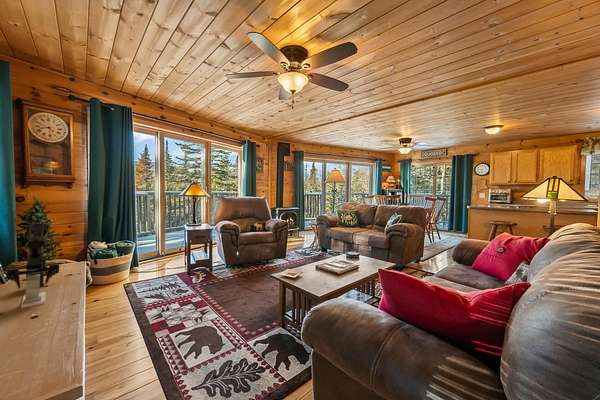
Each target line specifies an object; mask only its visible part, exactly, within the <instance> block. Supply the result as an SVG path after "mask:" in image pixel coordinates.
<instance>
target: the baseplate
mask: <svg viewBox="0 0 600 400" xmlns="http://www.w3.org/2000/svg"><path fill="white" fill-rule="evenodd" d="M46 295H47V293H46V291H43V292H39V300H38V301H32V302H26V303H25V301H26V294H24V295H23V298H22V302H21V306H20V307H21V309H22V308H28V307H33V306H38V305H44V304H46Z"/></svg>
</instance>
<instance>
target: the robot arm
mask: <svg viewBox="0 0 600 400" xmlns="http://www.w3.org/2000/svg"><path fill="white" fill-rule="evenodd" d="M48 232H50V225H49V224H46V223H43V222H42V223H39V222H38V223H32V224H31V225H29V233H31V234H30V235H31V237H30V238H29V239H28V242H26V244H25V250H27V259H26V265H25V270H19V268H10V269H7V270H6V272H5V276H6V280H7V281H9V280H10V281H11V282H12V281H13V282H14V283H15V284H16V287H17V288H18V289H20V288H21V281H20V276H23V275H25V276H26V278H27V275H35V274H40V288H44V287H45V285H48V283H49V281H50V279H51V278H52V277H53V276H55V275H56V274H60V264H59V263H56V264H49V265H46V263H47V255H45V256H44V250H45V249H46V248H47V247H48V245H49V243H48V242H47V241H46V238H47V236H48ZM45 277H46V278H45ZM26 278H25V279H26Z"/></svg>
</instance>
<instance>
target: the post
mask: <svg viewBox="0 0 600 400" xmlns="http://www.w3.org/2000/svg"><path fill="white" fill-rule="evenodd" d="M25 279H26V280H25V295H26V301H25V303H26V302H32V301H38V300H39V293H40V288H41V287H40V274H35V275H27V278H25Z"/></svg>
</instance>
